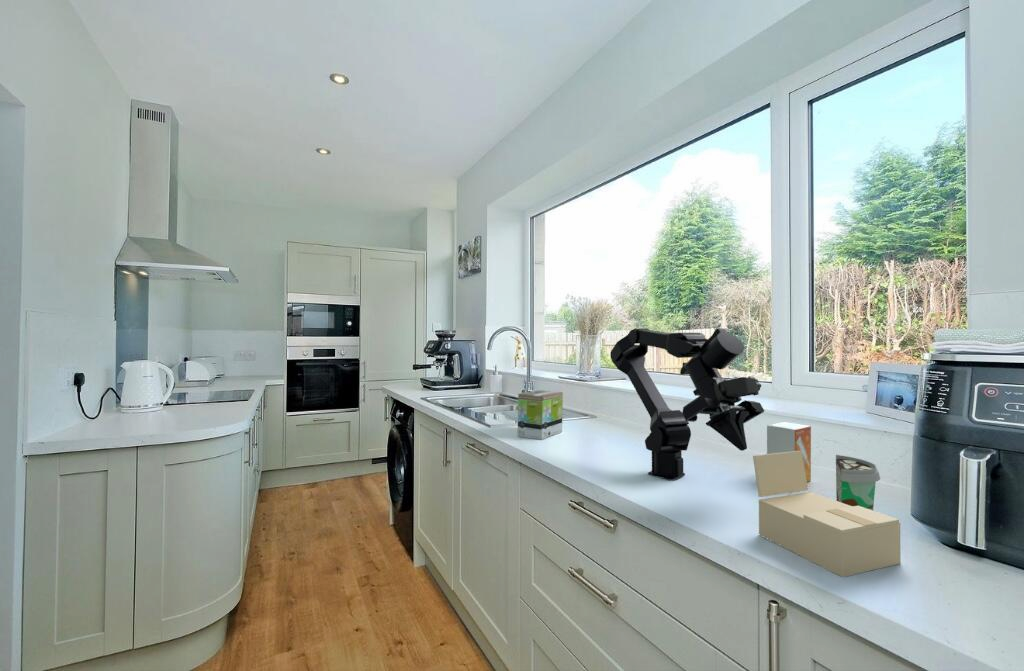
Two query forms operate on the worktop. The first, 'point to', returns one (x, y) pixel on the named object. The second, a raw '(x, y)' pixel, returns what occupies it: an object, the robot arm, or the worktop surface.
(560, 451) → the worktop surface
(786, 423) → the small box
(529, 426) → the tea box
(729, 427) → the robot arm
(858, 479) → the food container
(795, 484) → the lid flap
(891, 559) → the carton
